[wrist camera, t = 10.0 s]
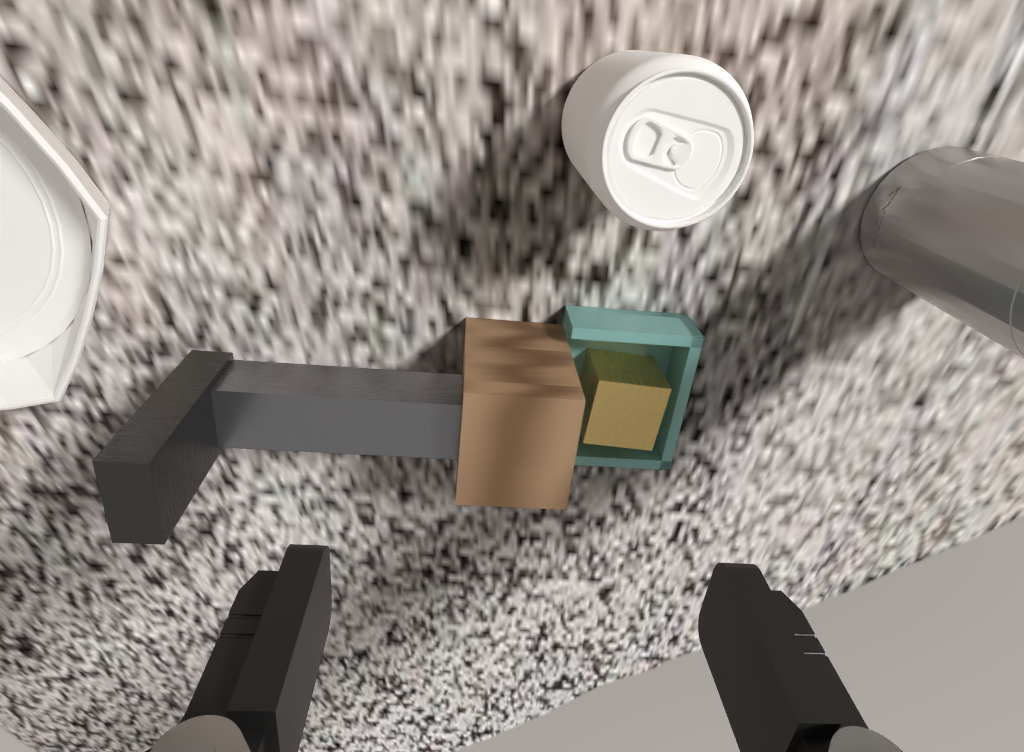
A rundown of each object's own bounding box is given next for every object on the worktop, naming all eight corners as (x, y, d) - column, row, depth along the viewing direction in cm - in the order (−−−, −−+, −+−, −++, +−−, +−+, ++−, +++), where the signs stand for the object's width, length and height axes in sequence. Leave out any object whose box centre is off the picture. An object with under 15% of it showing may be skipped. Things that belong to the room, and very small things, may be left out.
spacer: (587, 347, 47) (653, 356, 47) (573, 406, 49) (636, 413, 50) (599, 380, 42) (671, 389, 43) (583, 443, 45) (652, 450, 45)
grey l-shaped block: (524, 371, 43) (541, 483, 32) (517, 435, 45) (530, 558, 34) (191, 350, 41) (92, 461, 30) (201, 417, 43) (112, 542, 32)
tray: (687, 314, 47) (704, 337, 43) (656, 440, 52) (669, 470, 48) (565, 305, 46) (572, 327, 42) (545, 434, 51) (551, 464, 47)
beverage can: (654, 204, 43) (713, 259, 32) (541, 163, 41) (564, 207, 31) (710, 79, 39) (798, 94, 29) (590, 28, 38) (635, 25, 27)
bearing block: (562, 324, 47) (585, 400, 37) (548, 418, 50) (566, 509, 41) (466, 317, 46) (463, 393, 36) (459, 412, 50) (455, 504, 40)
